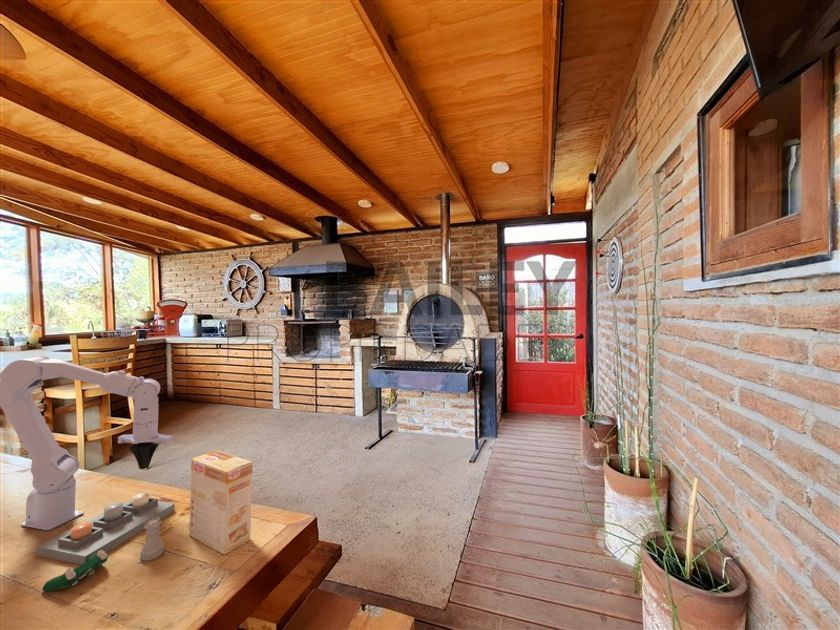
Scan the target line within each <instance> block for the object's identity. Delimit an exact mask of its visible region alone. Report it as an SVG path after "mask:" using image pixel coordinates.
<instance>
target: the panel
mask: <svg viewBox="0 0 840 630" xmlns="http://www.w3.org/2000/svg"><path fill="white" fill-rule="evenodd" d="M122 503H123V516H122V517H121V518H119V519H117V520H115V521H112V522H104V512H103V513H100V514H98V515H96V516H95V517H93V518H91V519H88V520H87V521H85V522H92V533H91V534H89V535H88V536H86V537H84V538H82V539H80V540H78V541H77V540H72V539H71V529H69V530H67V531H64V532H62V533H61V534H59V535H57V536H54V537H53V538H51V539H49V540H47V541H44V542H42V544H39V545H37V546H36V552H35V553H36V556H38V557H43V558H48V559H53V560H56V561H61V562H62V561H63V562H66V563H70V564H71V563H72V564H75V565H79V566H80V565H82V564H84V563H86V562H87V561H88V560H89V558H90V557H91V556H92V555H94V554H97V553H98V551H99V550H103V551H104V552H105V553H106V554H107V553H108V552H109V551H111V550H112V549H114V548H116V547H118V546H119V545H121V544H122V543H124V542H126V541H128V540H129V539H131V538H132V537H134V536H135V535H137V534H139V533H141V532H143V530H146V529H145V528H144V526H145V525H146V522H148V520H149V519H150V521H151V520H152V518H155V519H156V518H157V517H159V518H160V520H162V519H163V518H165V517H166V516H168V515H169V514H172V513H173V512H174V511H175V506H176V505H175V503H173V502H167V501H160V500H159V499H158V498H155V497H150V496H149V503H147V504H145V505H143V506H141V507H139V508H138V507H132V498H130V499H128V500H126V501H124V502H122Z"/></svg>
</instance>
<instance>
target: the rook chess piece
mask: <svg viewBox="0 0 840 630" xmlns="http://www.w3.org/2000/svg"><path fill="white" fill-rule="evenodd" d="M162 524H163V521H161V519H160V518H159V517H157V518H156V519H155V518H152V520H151V521H150V519H149V520H148V522H146V525H145V526H144V528H145V529H144V530H146V531H145V532H144V534H145V535H146V536H145V537H146V538H145V542H144V545H143V547H142V549H141V550H140V556H139V559H140V560H142V561H144V562H149V561H152V560H155V559H157V558H159V557H161V555H162V554H163V552H164V551H165V544H164V542H163V541H162V539H161V535H160V531H161V527H160V526H162Z"/></svg>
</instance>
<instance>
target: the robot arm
mask: <svg viewBox="0 0 840 630" xmlns="http://www.w3.org/2000/svg"><path fill="white" fill-rule="evenodd" d="M58 378H65V379H71V380H76V381H78V382H79V381H80V382H84V383H89V384H95V385H98V386H99V387H100V388H101V390H102V391H103V392H107V393H111V394H115V395H119V396H123V397H128V398H130V397H131V398H132V399H133V401H134V407H133V415H132V416H133V419H132V421H133V423H132V434H122V435H120V436H118V437H117V444H125V443H126V444H131V446H129V451H131V453H132V454H133V456H134V457H135V461H136V462H137V466H138V469H139V470H145V469H147V468H149V467H150V465H151V461H152V459H153V456H154V454H155V452H156V450H157V449H158V447H159V445H162V444H163V446H165V445H166V446H168V445H170V444H172V443H173V436H172V435H166V434H160V433H159V431H158V429H159V428H158V426H159V406H160V405H159V396H158V394H160V391H161V385H160V383H159V381H157V380H155V379H153V378H145V377H144V376H139V377H138V376H134V375H131V374H127V373H126V371H125V370H118V371H116V370H114V371H110V372H108V373H105V372H102V371H99V370H96V369H92V368H89V367H85V366H82V365H80V364H79V365H78V364H75V363H72V362H70V361H65V360H62V359H59V358H50V357H48V356H44V355H35V356H32V357H29V358H25V359H17V360H14V361H12V362H9V364H7V366H6V367H5V368H4V369H3V370H2V371H1V372H0V408H1V410H2V411H3V413H4V414H5V416H6V418H7V420H8V422H9V423H10V425H11V426H12V428H13V430H14V432H15V433H16V435H17V436H18V438H19V440H20V442H21V444H22V445H23V447H24V449H25V450H26V452H27V454H28V456H29V457H30V459H31V464H30V465H31V466H30V473H31V475H32V483H31V484H32V487H33V489H32V490H31V491H30V492H29V494H28V495H27V497H26V502H25V506H26V508H25V521H23V522H21V523H20V525H21V526H23V527H28V528H33V529H38V530H43V531H50V530H53V529H55V528H57V527H59V526H61V525H63V524H65V523H67V522H69V521H71V520H74V519H75V518H77V517H79V516H82V515H83V514H84V513H85V512H84V511H81V510H76V488H77V480H76V478H75V476H74V475H75V474H76V472H78V470H79V469H80V461H79V460H78V458H77V457H75V456H73V455H72V454H70V453H69V451H68V450H67V449H65V448H64V447H61V446H60V445H59V443H58V442H57V440H56V438H55V436H54V434H53V432H52V431H51V429H50V427H49V425H48V424H47V422H46V421H45V419H44V417H43V415H42V413H41V412H40V410H39V408H38V406H37V405H36V402H35V401H34V399H33V397H32V394H33V392H34V391H35V390H36V388H38V386H39V384H40V383H42V382H43V381H46V380H51V379H58Z"/></svg>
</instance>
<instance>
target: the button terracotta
mask: <svg viewBox="0 0 840 630" xmlns="http://www.w3.org/2000/svg"><path fill="white" fill-rule="evenodd" d="M70 530H71V539H72V540H77V541H78V540H80V539H82V538H84V537H86V536H88V535H89V534H91V533H92V522H86V521H83V522H81V523H78V524H76V525H74V526H72V527H71V528H70Z"/></svg>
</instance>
